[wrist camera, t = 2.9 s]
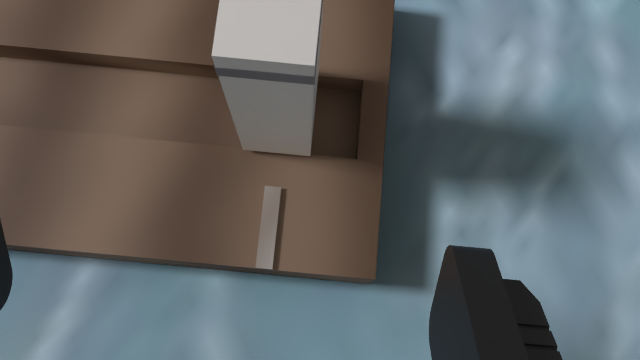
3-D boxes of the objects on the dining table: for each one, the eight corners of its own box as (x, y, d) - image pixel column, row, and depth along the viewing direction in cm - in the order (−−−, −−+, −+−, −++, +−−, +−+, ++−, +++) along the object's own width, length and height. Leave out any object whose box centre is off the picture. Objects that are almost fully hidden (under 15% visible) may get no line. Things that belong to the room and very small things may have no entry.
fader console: (388, 9, 27) (396, -22, 24) (368, 283, 24) (376, 279, 21) (-180, -47, 26) (-227, -83, 24) (-268, 223, 24) (-330, 212, 21)
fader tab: (318, 80, 24) (328, -62, 15) (310, 165, 24) (315, 66, 15) (255, 74, 24) (228, -72, 15) (245, 158, 24) (210, 56, 15)
